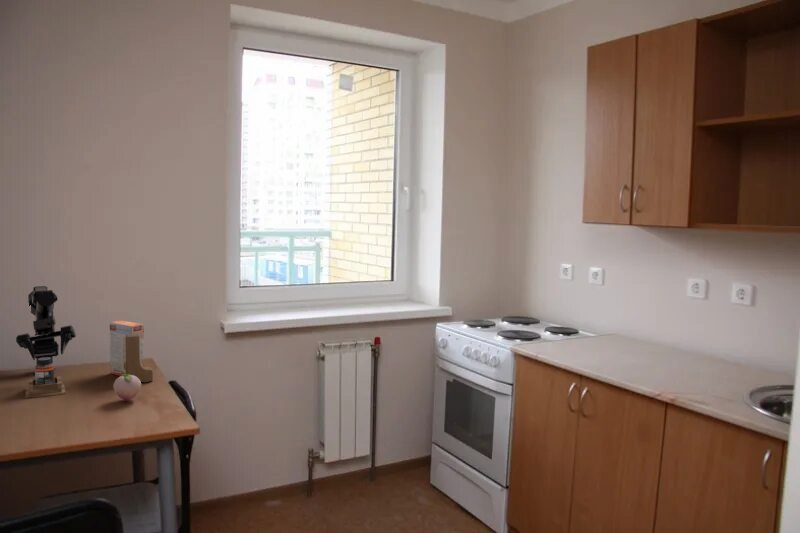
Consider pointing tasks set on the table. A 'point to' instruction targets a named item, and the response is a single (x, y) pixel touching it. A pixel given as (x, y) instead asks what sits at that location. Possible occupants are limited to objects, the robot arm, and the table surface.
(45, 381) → the supplement bottle
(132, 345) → the wooden block
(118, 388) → the decorative fruit
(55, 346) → the robot arm
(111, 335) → the cracker box
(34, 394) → the socket
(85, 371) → the table surface
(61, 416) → the table surface
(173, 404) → the table surface
